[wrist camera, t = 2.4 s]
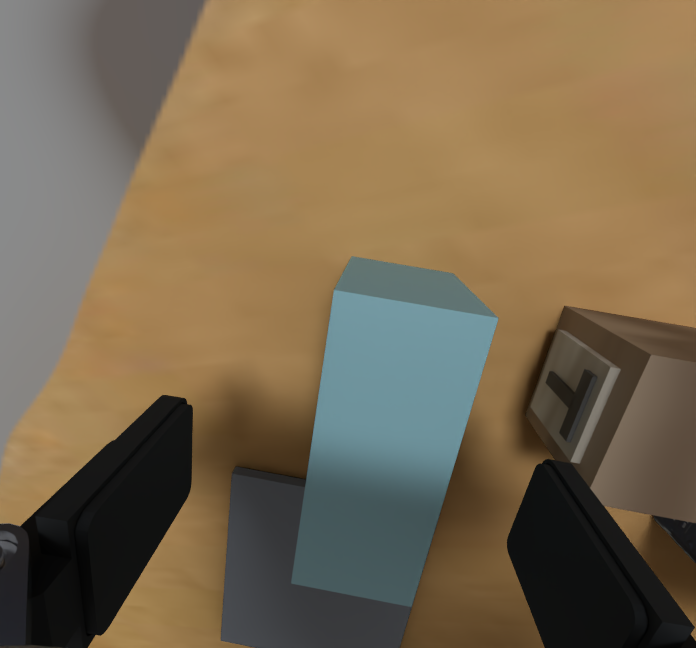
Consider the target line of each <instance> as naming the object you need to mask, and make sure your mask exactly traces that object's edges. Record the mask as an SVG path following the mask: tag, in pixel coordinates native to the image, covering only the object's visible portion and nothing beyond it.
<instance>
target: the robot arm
mask: <svg viewBox="0 0 696 648" xmlns="http://www.w3.org/2000/svg"><path fill="white" fill-rule="evenodd" d="M192 424H193V408H192V406H191V405H188V404H187V401H186V399H185V398H180V397H174V396H168V395H162V396H161V397H160V398H159V399H157V400H156V401H155V402H154V403H153V404H152V405H151V406H150V407H149V408H148V409H147V410H146V411H145V412H144V413H143V414H142V415H141V416H140V417H139V418H138V419H136V420H135V421H134V422H133V423H132V424H131V425H130V426H129V427H128V428H127V429H126V430H125V431H124V432H123V433H122V434H121V435H120V436H119V437H118V438H117V439H115V440H114V441H111V442H110V443H109V444H107V445H106V446H105V447H104V448H103V449H102V450H101V451H100V452H99V453H98V454H96V455H95V456H94V457H93V458H92V459H91V460H90V461H89V462H88V463H87V464H86V465H85V466H84V467H83V468H82V469H81V470H79V471H78V472H77V473H76V474H75V475H74V476H73V477H72V478H71V479H70V480H69V481H68V482H67V483H66V484H65V485H64V486H62V487H61V488H60V489H59V490H58V491H57V492H56V493H55V494H54V495H53V496H52V497H51V498H50V499H49V500H48V501H47V502H46V503H44V504H43V505H42V506H41V507H40V508H39V509H38V510H37V511H36V512H35V513H34V514H33V515H32V516H31V517H30V518H29V519H27V520H26V521H25V522H24V523H23V524H22V525H21V526H17V525H13V524H0V648H88V646H89V645H90V643H91V641H92V640H93V638H94V637H95V635H100V636H101V635H102V634H104V632H105V631H106V630H107V629H108V627H109V626H110V624H111V623H112V621H113V619H114V618H115V616H116V614H117V613H118V611H119V609H120V608H121V606H122V604H123V603H124V601H125V600H126V598H127V596H128V595H129V593H130V591H131V590H132V588H133V586H134V585H135V583H136V581H137V580H138V578H139V577H140V575H141V573H142V572H143V570H144V568H145V567H146V565H147V563H148V562H149V560H150V558H151V557H152V555H153V553H154V552H155V550H156V549H157V547H158V545H159V544H160V542H161V540H162V539H163V537H164V535H165V534H166V532H167V530H168V529H169V527H170V526H171V524H172V522H173V521H174V519H175V517H176V516H177V514H178V512H179V511H180V509H181V507H182V506H183V504H184V503H185V501H186V499H187V497H188V495H189V492H190V489H191V478H192ZM507 549H508V553H509V556H510V558H511V561H512V564H513V566H514V569H515V571H516V574H517V577H518V579H519V582H520V584H521V587H522V590H523V592H524V595H525V597H526V600H527V603H528V605H529V608H530V610H531V613H532V616H533V618H534V621H535V623H536V626H537V629H538V631H539V634H540V636H541V639H542V641H543V644H544V647H545V648H696V641H695V640H694V638H693V637H692V636H691V632H692V631H693V629H694V628H695V627H694V626H693V624H692V623H691V622H690V620H689V619H688V618H687V616H686V615H685V614H684V612H683V611H682V610H681V608H680V607H679V606H678V604H677V603H676V602H675V600H674V599H673V598H672V596H671V595H670V594H669V592H668V591H667V590H666V588H665V587H664V586H663V584H662V583H661V582H660V580H659V579H658V578H657V576H656V575H655V574H654V572H653V571H652V570H651V568H650V567H649V566H648V564H647V563H646V562H645V560H644V559H643V558H642V556H641V555H640V554H639V552H638V551H637V550H636V548H635V547H634V546H633V544H632V543H631V542H630V540H629V539H628V538H627V536H626V535H625V534H624V532H623V531H622V530H621V529H620V527H619V526H618V525H617V523H616V522H615V521H614V519H613V518H612V517H611V515H610V514H609V513H608V511H607V510H606V509H605V507H604V506H603V505H602V503H601V502H600V501H599V499H598V498H597V497H596V495H595V494H594V493H593V491H592V490H591V489H590V487H589V486H588V485H587V483H586V482H585V481H584V479H583V478H582V477H581V475H580V474H579V473H578V471H577V470H576V469H575V467H574V466H573V465H572V464H571V463H568V462H562V461H556V460H550V459H546V460H545V461H543V463H542V464H538V465H537V466H536V468H535V470H534V473H533V475H532V478H531V480H530V483H529V485H528V488H527V490H526V493H525V495H524V498H523V500H522V503H521V505H520V508H519V510H518V513H517V515H516V518H515V520H514V523H513V525H512V528H511V530H510V533H509V535H508V539H507Z"/></svg>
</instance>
